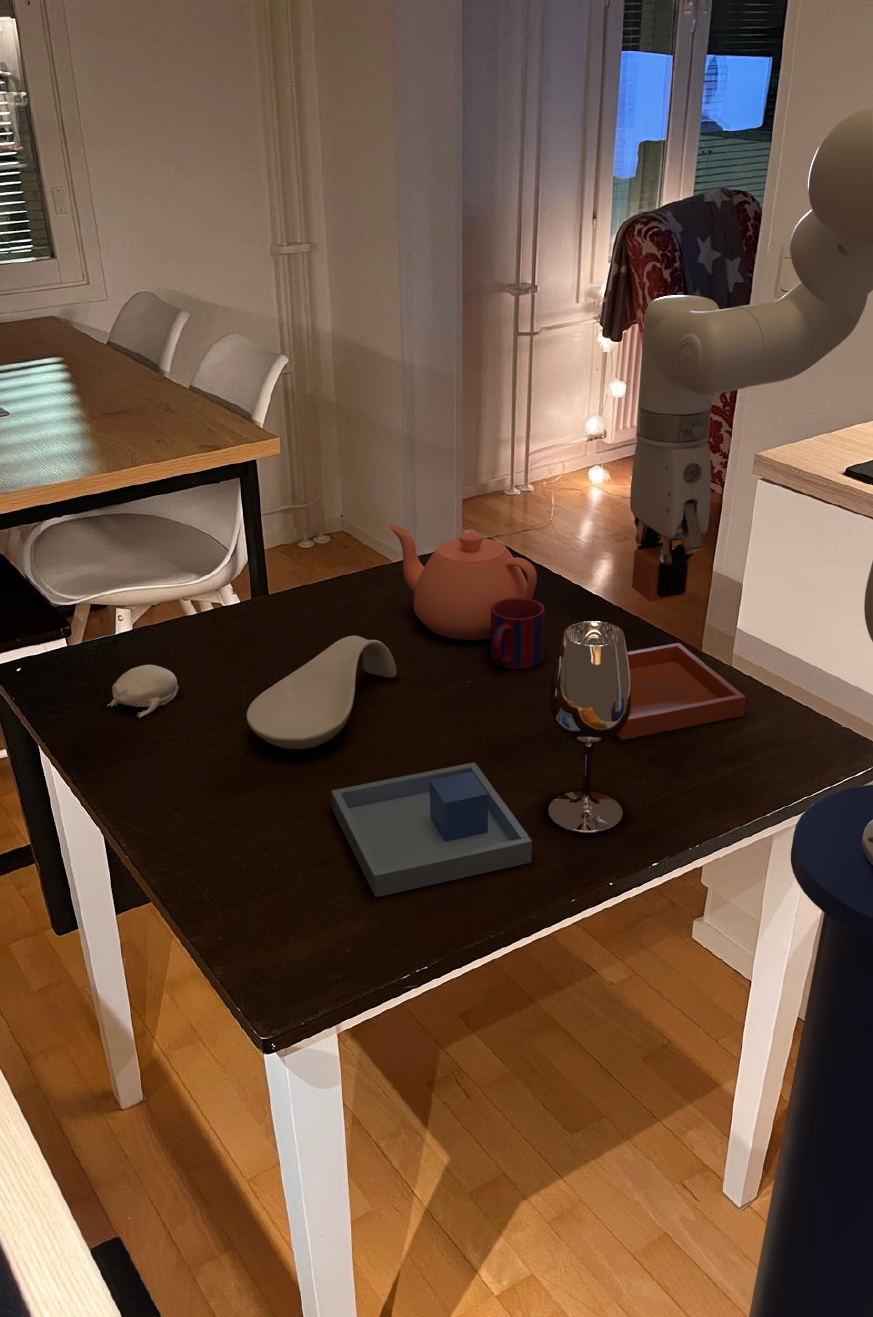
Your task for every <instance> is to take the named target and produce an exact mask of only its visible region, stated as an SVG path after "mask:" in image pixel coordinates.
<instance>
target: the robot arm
mask: <svg viewBox="0 0 873 1317" xmlns="http://www.w3.org/2000/svg"><path fill="white" fill-rule="evenodd" d="M807 195H808V200H809V201H808V202H809V204H810V207H811V209H810V210H809V211H807V213H805V215H803V217H801V218H800V219H799V221H798V222H797V224H796V225H795V227H794V229H793V232H792V234H791V237H790V242H789V253H790V254H789V256H790V259H791V264H792V267H793V269H794V272H795V274H796V275H797V278H798V279H799V282H798V283H797V284H796V285H795V286H793V288H792V289H790V290H789V291H788V292H786V293H785V294H784V295H783V296H781V297H780V298H778V299H776V300H774V301H772V300H771V301H766V302H757V303H751V304H745V305H738V306H733V307H729V308H719V305H718V304H717V303H716V301H714V300H712V299H710V298H708V297H704V296H698V295H686V294H684V295H681V294H679V295H677V294H676V295H666V296H662V297H659V298H655V299H653V300H652V301H651V302H650V303H649V304H648V306H647V307H646V309H645V312H644V318H643V328H642V330H643V331H642V344H641V358H640V359H641V360H640V371H639V372H640V373H639V389H638V403H637V416H636V417H637V418H636V431H635V432H636V433H635V438H636V443H635V448H634V449H635V451H634V456H633V462H632V471H631V478H630V490H629V491H630V494H629V495H630V496H629V507H630V511H631V513H632V515H633V518H634V522H633V523H634V525H635V527H636V533H635V543H636V545H637V546H636V550H639V549H646V548H652V547H659V546H663V559H664V562H660V565H659V577H658V589H657V595H658V596H659V597H661V598H663V597H669V596H675V595H681V594H683V593H684V592H685V587H686V576H687V566H688V562H689V563H690V562H691V560H692V556H694V554H695V553H696V552H697V551H700V550H701V549H702V548H703V539H702V535H705V534H706V533H707V532H708V529H709V522H710V510H711V509H710V508H711V489H712V464H711V461H712V460H711V450H710V443H708V441H709V435H710V428H711V416H712V405H713V397H714V396H713V395H719V394H724V393H728V392H733V391H734V392H735V391H738V390H743V389H746V388H750V387H756V386H761V385H762V386H763V385H767V384H773V383H774V384H775V383H780V382H784V381H786V380H787V381H788V380H789V379H793V378H794V377H797V376H798V375H801V374H802V373H804V372H805V371H807V370H809V369H810V368H811V367H813V366H814V365H815V364H817V363H818V362H819V361H821V360H822V359H823V358H824V357H825V356H827V355H828V354H829V353H831V352H832V351H833V350H834V349H836V348H837V347H838V346H839V345H840V344H842V343H843V342H844V341H845V340H847V338H848V337H849V336H851V334H852V332H853V331H854V330H855V328H856V327H857V325H858V323H859V321H860V319H861V317H862V315H863V313H864V311H865V308H866V305H867V301H868V295H869V294H870V293H871V292H872V291H873V107H869V108H865V109H861V110H858V111H856V112H855V113H852V114H850V115H848V116H847V117H844V119H843V120H841V121H840V122H839V123H837V124H836V125H835V126H834V127H833V128H832V129H831V130H830V131H829V132H828V133H827V135H826V136H825V138H824V139H823V140H822V142H821V143H820V145H819V146H818V148H817V150H816V152H815V154H814V156H813V159H812V162H811V165H810V170H809V174H808V180H807ZM677 529H681V532H677ZM674 541H680V544H676V546H675V547H674V546H673V542H674ZM673 547H674V549H673ZM868 573H869V574H868V577H867V581H866V586H865V592H864V605H863V606H864V608H863V609H864V610H863V611H864V620H865V625H866V629H867V632H868V636H869V637H870V640H871V642H872V643H873V561H872V562H871V566H870V569H869V572H868ZM862 848H863V852H864V854H865V856H866V857H867V859H868V861H869V862H870V863H871V864H872V865H873V820H872V821H870V822H869V823H868V825H867V826H866V828H865V830H864V833H863V838H862Z"/></svg>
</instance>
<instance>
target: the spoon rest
mask: <svg viewBox="0 0 873 1317" xmlns="http://www.w3.org/2000/svg"><path fill="white" fill-rule="evenodd" d="M361 655H362V668H363V671H364V672H365V673H368V674H370V675H374V676H380V677H383V678H389V679H391V678H395V677H397V674H398V671H397V666H396V662H395V659H394V657H393V655H392V652H391V651H390V649H389V648H388V647H387V646H386V644H384V643H383V642H381V641H380V640H377V639H366V638H364V637H362V636H359V635H349V636H345V637H342V638H341V639H339V640H336V641H335V642H334V643H332V644H331V645H329V647H327V648H326V649H324V650H323V651H321V652H320V653H319V654H317V655H316V656H314V658H312V659H310V660H309V661H308V662H306V663H305V664H303V665H302V666H301V667H299V668H298V669H296V670H295V671H293V672H291V673H290V674H288V675H287V676H285V677H283V678H282V679H281V680H279V681H277V682H276V683H275V684H273V685H272V686H270V687H269V688H266V690H264V691H263V692H261V693H260V694H259V695H258V696H257V697H255V699H253V701H252V702H251V703H250V705H249V706H248V709H247V711H246V722H247V724H248V726H249V727H250V729H251V730H252V732H254V733H255V735H257V736H258V737H259V738H261V739H262V740H264V741H265V742H267V743H269V744H271V745H273V746H275V747H278V748H282V749H288V750H305V749H312V748H316V747H319V746H321V745H323V744H325V743H327V742H329V741H330V740H332V739H333V738H334V737H336V736H337V735H338V734H339V733H340V732H341V731H342V730H343V728H344V727H345V725H346V723H347V722H348V720H349V718H350V715H351V712H352V709H353V705H354V700H355V692H356V680H357V679H356V678H357V668H358V664H359V660H360V657H361Z"/></svg>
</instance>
